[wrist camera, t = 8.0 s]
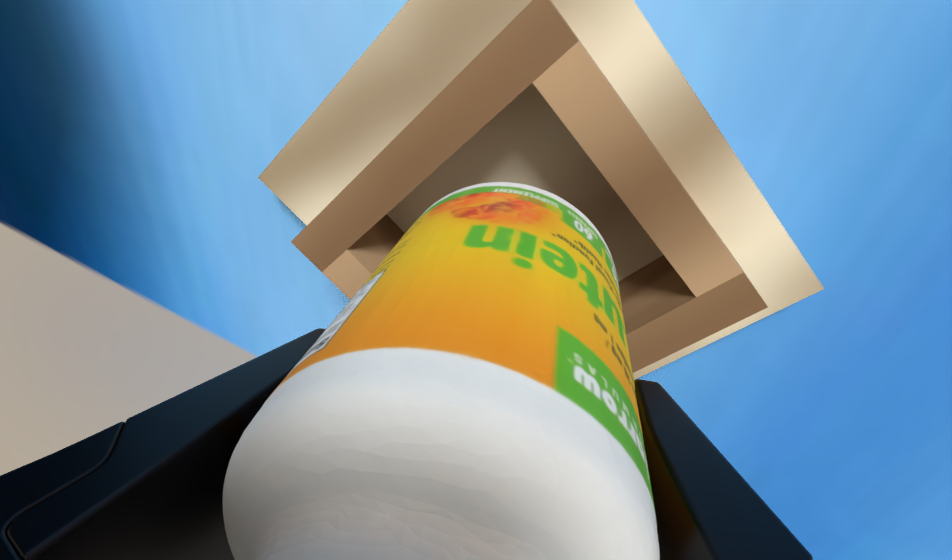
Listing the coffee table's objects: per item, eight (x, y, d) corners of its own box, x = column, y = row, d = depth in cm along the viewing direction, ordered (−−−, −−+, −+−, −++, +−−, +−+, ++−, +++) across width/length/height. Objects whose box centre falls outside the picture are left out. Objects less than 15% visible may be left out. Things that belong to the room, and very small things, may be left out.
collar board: (277, 168, 17) (195, 206, 13) (538, -134, 12) (521, -208, 8) (520, 414, 20) (508, 499, 17) (807, 270, 15) (880, 348, 11)
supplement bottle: (667, 261, 11) (1020, 1161, 2) (533, 397, 13) (461, 1035, 5) (467, 128, 10) (-93, 664, 2) (370, 299, 13) (-31, 833, 4)
